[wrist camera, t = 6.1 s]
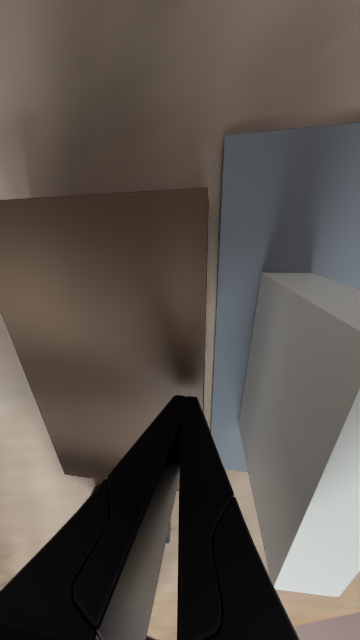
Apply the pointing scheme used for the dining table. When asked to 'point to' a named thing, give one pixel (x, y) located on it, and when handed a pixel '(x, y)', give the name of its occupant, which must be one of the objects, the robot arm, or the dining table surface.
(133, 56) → the dining table surface
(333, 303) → the thick white tile
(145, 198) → the brown rectangular block
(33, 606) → the robot arm
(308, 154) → the mat
